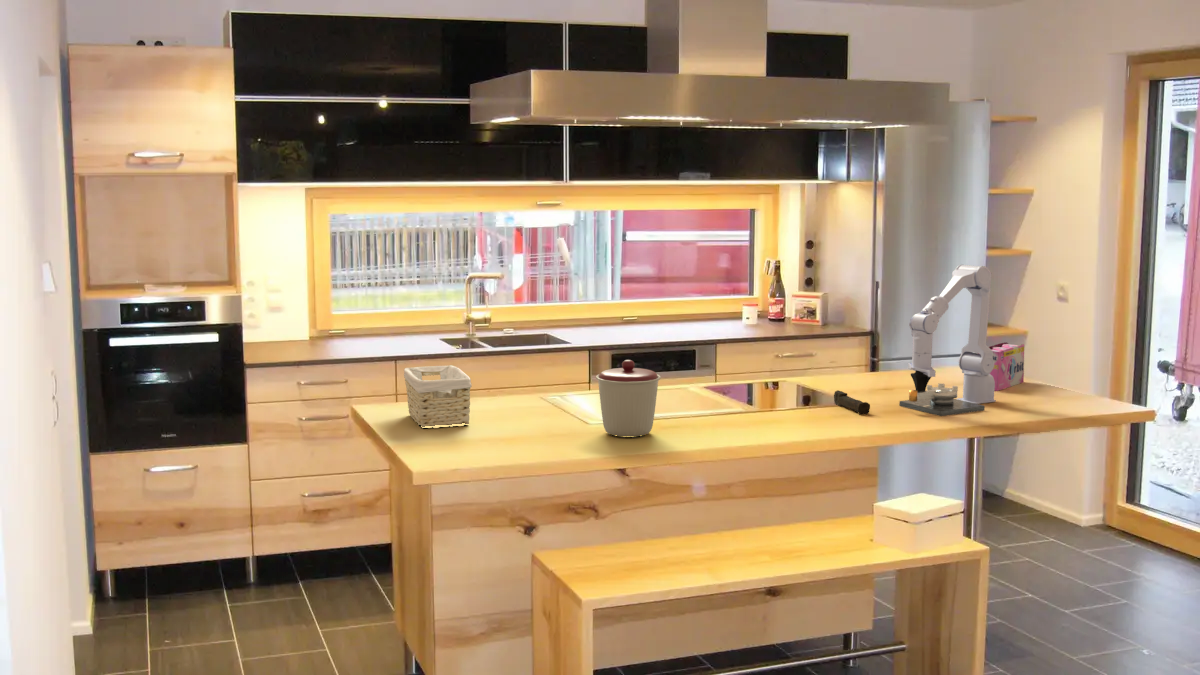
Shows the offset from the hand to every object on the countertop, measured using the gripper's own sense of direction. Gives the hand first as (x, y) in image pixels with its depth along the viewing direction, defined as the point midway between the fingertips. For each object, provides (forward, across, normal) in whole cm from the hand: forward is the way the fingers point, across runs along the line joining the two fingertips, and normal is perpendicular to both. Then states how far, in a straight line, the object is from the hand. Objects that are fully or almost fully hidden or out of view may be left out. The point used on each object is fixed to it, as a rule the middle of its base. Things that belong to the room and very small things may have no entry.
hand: (920, 396), depth 361 cm
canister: (+4, +15, -96) cm, 97 cm away
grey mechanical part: (+1, +1, +3) cm, 4 cm away
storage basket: (+5, -13, -147) cm, 148 cm away
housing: (+4, -1, +8) cm, 9 cm away
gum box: (+5, -34, +46) cm, 58 cm away
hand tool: (+5, -6, -21) cm, 22 cm away
